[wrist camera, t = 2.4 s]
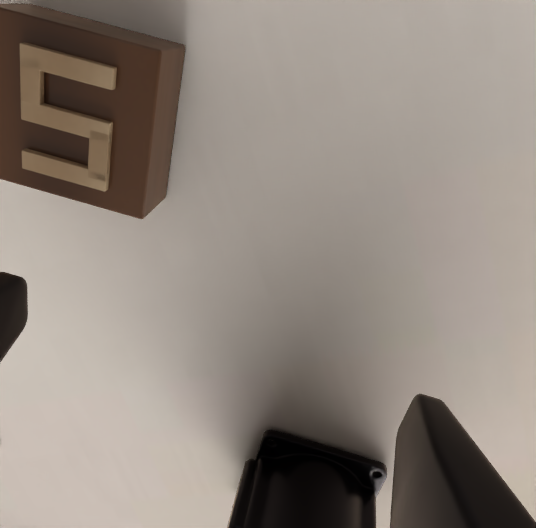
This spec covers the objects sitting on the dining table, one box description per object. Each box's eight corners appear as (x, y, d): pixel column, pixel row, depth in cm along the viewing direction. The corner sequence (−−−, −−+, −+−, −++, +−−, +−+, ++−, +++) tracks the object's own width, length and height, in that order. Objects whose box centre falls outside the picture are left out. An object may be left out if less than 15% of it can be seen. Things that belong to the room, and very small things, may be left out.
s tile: (186, 45, 18) (158, 51, 15) (166, 197, 21) (139, 223, 18) (29, 2, 18) (-23, 2, 16) (30, 159, 21) (-14, 179, 19)
